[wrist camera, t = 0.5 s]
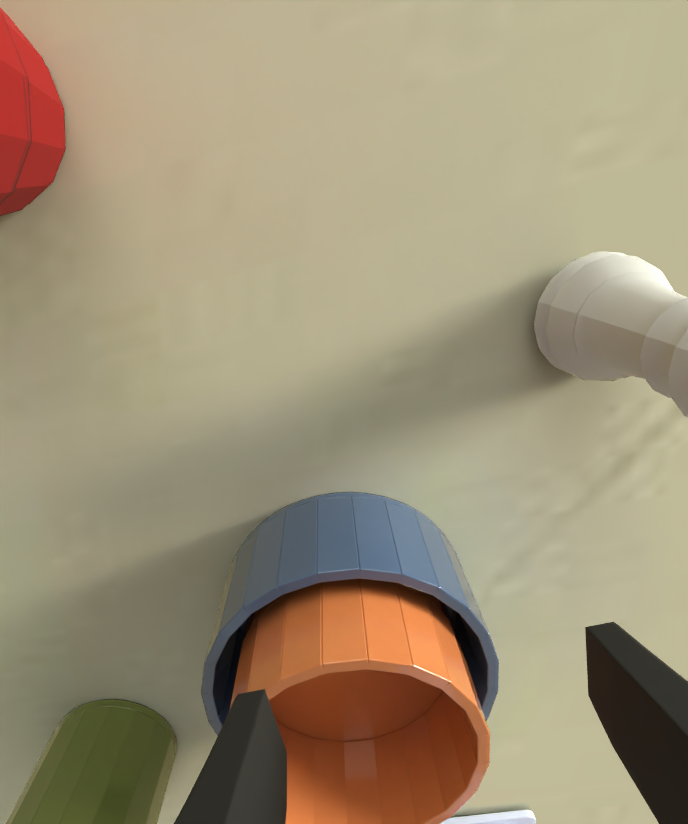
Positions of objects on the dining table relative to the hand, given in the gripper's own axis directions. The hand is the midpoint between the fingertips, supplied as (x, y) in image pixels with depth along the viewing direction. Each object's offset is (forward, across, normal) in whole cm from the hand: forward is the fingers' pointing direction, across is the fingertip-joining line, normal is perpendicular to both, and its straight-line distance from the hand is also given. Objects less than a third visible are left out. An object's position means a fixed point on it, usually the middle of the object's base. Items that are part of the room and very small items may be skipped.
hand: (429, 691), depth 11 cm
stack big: (+10, +2, +5) cm, 12 cm away
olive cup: (+10, +15, +11) cm, 21 cm away
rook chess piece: (+10, -9, -5) cm, 14 cm away
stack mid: (+10, +2, +5) cm, 12 cm away
